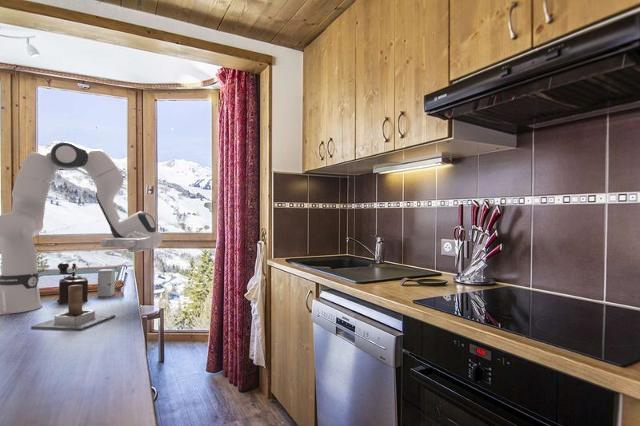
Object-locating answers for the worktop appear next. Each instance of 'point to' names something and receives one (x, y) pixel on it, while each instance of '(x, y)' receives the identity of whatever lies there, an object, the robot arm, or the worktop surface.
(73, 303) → the walnut peg
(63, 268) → the manual coffee grinder
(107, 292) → the skincare box
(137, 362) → the worktop surface
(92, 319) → the plate
